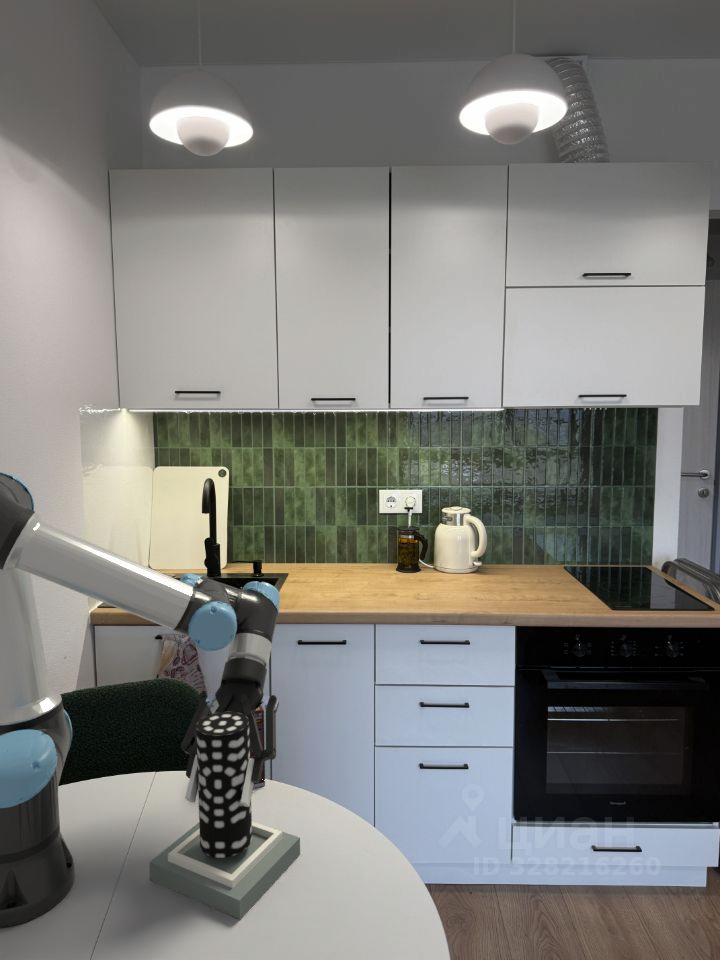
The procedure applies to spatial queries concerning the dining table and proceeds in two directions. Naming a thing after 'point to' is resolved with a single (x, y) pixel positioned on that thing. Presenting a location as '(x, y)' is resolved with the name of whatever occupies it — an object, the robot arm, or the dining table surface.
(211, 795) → the black polka dot cylinder
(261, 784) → the supplement box
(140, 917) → the dining table surface
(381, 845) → the dining table surface
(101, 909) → the dining table surface
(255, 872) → the tray
